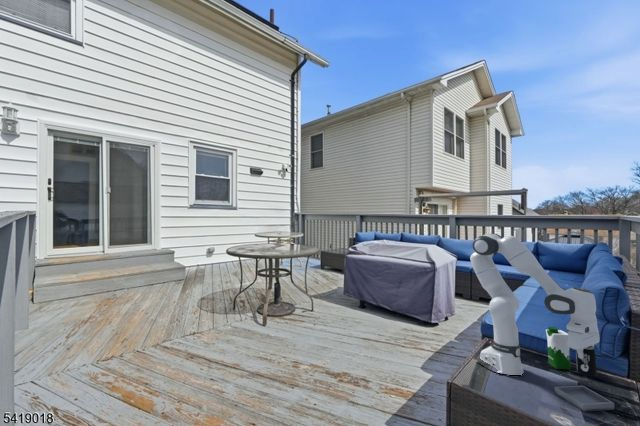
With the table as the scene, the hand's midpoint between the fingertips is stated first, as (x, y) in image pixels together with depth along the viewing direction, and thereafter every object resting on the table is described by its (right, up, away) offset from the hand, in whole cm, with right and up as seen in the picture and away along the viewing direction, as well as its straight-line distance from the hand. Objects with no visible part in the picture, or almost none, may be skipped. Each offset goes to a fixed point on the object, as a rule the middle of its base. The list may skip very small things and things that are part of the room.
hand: (585, 356), depth 133 cm
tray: (-5, -17, -5) cm, 18 cm away
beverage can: (0, -8, 0) cm, 8 cm away
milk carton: (+10, -18, +27) cm, 34 cm away
